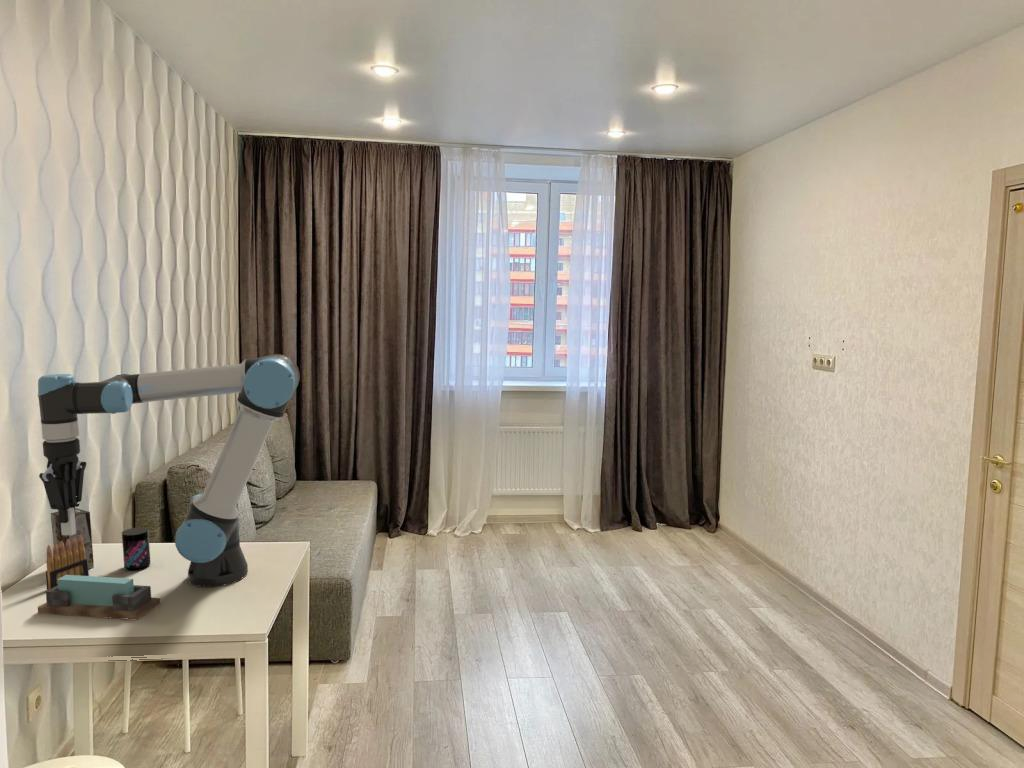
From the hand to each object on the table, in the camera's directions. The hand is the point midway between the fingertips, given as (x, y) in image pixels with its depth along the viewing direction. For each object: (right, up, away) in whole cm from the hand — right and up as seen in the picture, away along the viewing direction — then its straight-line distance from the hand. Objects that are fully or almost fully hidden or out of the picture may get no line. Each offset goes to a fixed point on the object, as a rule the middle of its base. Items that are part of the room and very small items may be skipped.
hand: (69, 534), depth 179 cm
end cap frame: (+7, -18, +1) cm, 20 cm away
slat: (+6, -17, +1) cm, 18 cm away
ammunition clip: (-10, -17, +17) cm, 26 cm away
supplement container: (+3, -15, +28) cm, 32 cm away
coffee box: (-15, -15, +27) cm, 34 cm away
